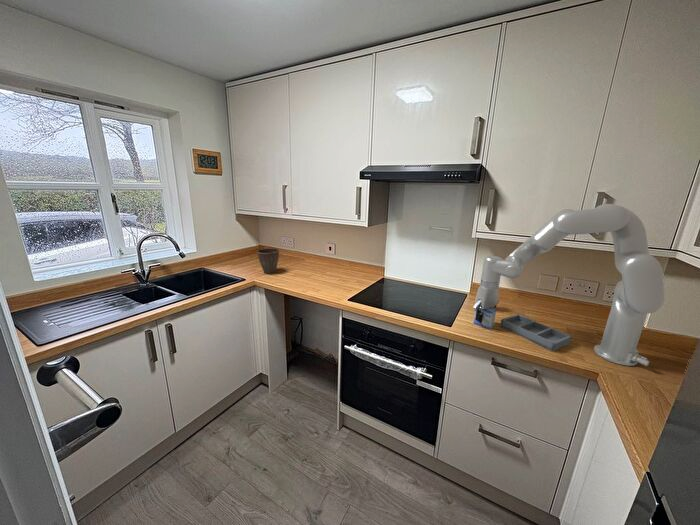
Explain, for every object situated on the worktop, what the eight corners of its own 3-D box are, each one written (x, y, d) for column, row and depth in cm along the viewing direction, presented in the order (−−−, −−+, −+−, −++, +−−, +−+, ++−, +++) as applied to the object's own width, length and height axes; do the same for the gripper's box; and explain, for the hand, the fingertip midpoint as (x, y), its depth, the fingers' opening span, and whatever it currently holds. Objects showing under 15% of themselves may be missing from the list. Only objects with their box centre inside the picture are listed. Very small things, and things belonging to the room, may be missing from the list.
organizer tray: (569, 343, 118) (571, 336, 117) (553, 351, 112) (554, 343, 111) (516, 320, 137) (518, 313, 136) (500, 326, 131) (501, 319, 130)
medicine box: (472, 323, 134) (475, 306, 131) (476, 320, 137) (479, 303, 134) (490, 329, 128) (493, 312, 126) (493, 326, 131) (496, 309, 129)
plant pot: (255, 275, 196) (253, 253, 192) (262, 269, 211) (261, 248, 206) (277, 275, 196) (275, 253, 192) (282, 269, 210) (281, 248, 206)
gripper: (494, 278, 134) (489, 312, 139) (469, 283, 126) (464, 320, 131) (509, 283, 127) (503, 319, 132) (484, 289, 120) (478, 327, 125)
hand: (484, 319), depth 132 cm, fingers open, 6 cm apart
